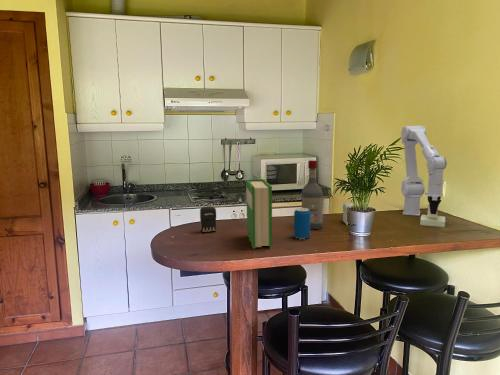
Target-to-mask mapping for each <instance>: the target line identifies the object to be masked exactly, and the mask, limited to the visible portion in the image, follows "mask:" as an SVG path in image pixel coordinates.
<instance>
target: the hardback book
mask: <svg viewBox="0 0 500 375" xmlns="http://www.w3.org/2000/svg"><path fill="white" fill-rule="evenodd" d="M245 184H246V186H245V188H246V193H245V194H246V236H247V235H248V237H249V239H248V241H249V240H250V242H251V244H252V246H251V248H252V247H255V248H263V247H262V246H270V247H272V248H273V195H272V194H273V188H272V185H271V184H270V183H269V182H267V180H266V179H264V178H259V179H258V178H257V179H245ZM248 237H247V238H248ZM250 242H249V243H250ZM251 244H250V245H251Z"/></svg>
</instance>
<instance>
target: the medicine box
mask: <svg viewBox="0 0 500 375" xmlns="http://www.w3.org/2000/svg"><path fill="white" fill-rule="evenodd" d="M352 204H353V203H352V202H350V203H343V204H342V205H343V206H342V221H343V223H344V224H345V225H346V226H349V225H348V222H347V207H350V206H352Z"/></svg>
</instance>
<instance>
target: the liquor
mask: <svg viewBox="0 0 500 375" xmlns="http://www.w3.org/2000/svg"><path fill="white" fill-rule="evenodd" d="M317 162H318V161H317V160H313V159H312V160H311V159H310V160H308V162H307V163H308V165H307V166H308V181H307V182H306V184H305V186H303V187H302V190H301V208H308V209H309V211H310V229H318V230H321V228H322V229H323V227H324V226H323V225H324V224H323V222H324V221H323V220H324V218H323V216H324V214H323V213H324V210H323V209H324V192H323V189H322V188H321V186H320V185H319V183H317V169H318V168H317V167H318V163H317Z"/></svg>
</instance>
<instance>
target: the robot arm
mask: <svg viewBox="0 0 500 375" xmlns="http://www.w3.org/2000/svg"><path fill="white" fill-rule="evenodd" d="M426 134H427V129H426V127H425V126H424V125H421V124H420V125H404V126H402V129H401V132H400V135H401V137H400V138H401V143H402V144H403V148H404V149H403V150H404V157H405V158H404V159H405V160H404V162H405V172H406V178H404V179H403V180H402V181H401V188H400V192H401V194H402V195H403V197H404V201H403V202H404V205H403V211H402V215H406V216H418V217H419V216H420V217H421V212H422V211H421V210H420V206H421V198H422V196H423V195H427V201H428V204H429V205H430V212H431V214H436V213H437V209H438V208H439V205H440V204H441V202H442V196H443V193H442V192H443V181H444V180H443V178H444V170H445V169H446V167H447V165H448V162H447V159H446V156H442V155H440V153H439V152H438V151H437V149H436V147H435V146H434V145H431V143H430V141H428V137H427V135H426ZM417 144H418V145H419V146H420V147H421V148H422V150H421V153H422V155H423V157H424V159H425V160H426V167H427V173H428V181H427V182H428V184H427V191H426V188H425V185H424V182H423V181H424V180H423V179H421V177H419V176H418V175H419V174H418V165H417V164H418V163H417V154H416V153H417V152H416V145H417ZM425 191H426V192H425ZM438 210H439V209H438ZM437 214H438V213H437Z"/></svg>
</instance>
